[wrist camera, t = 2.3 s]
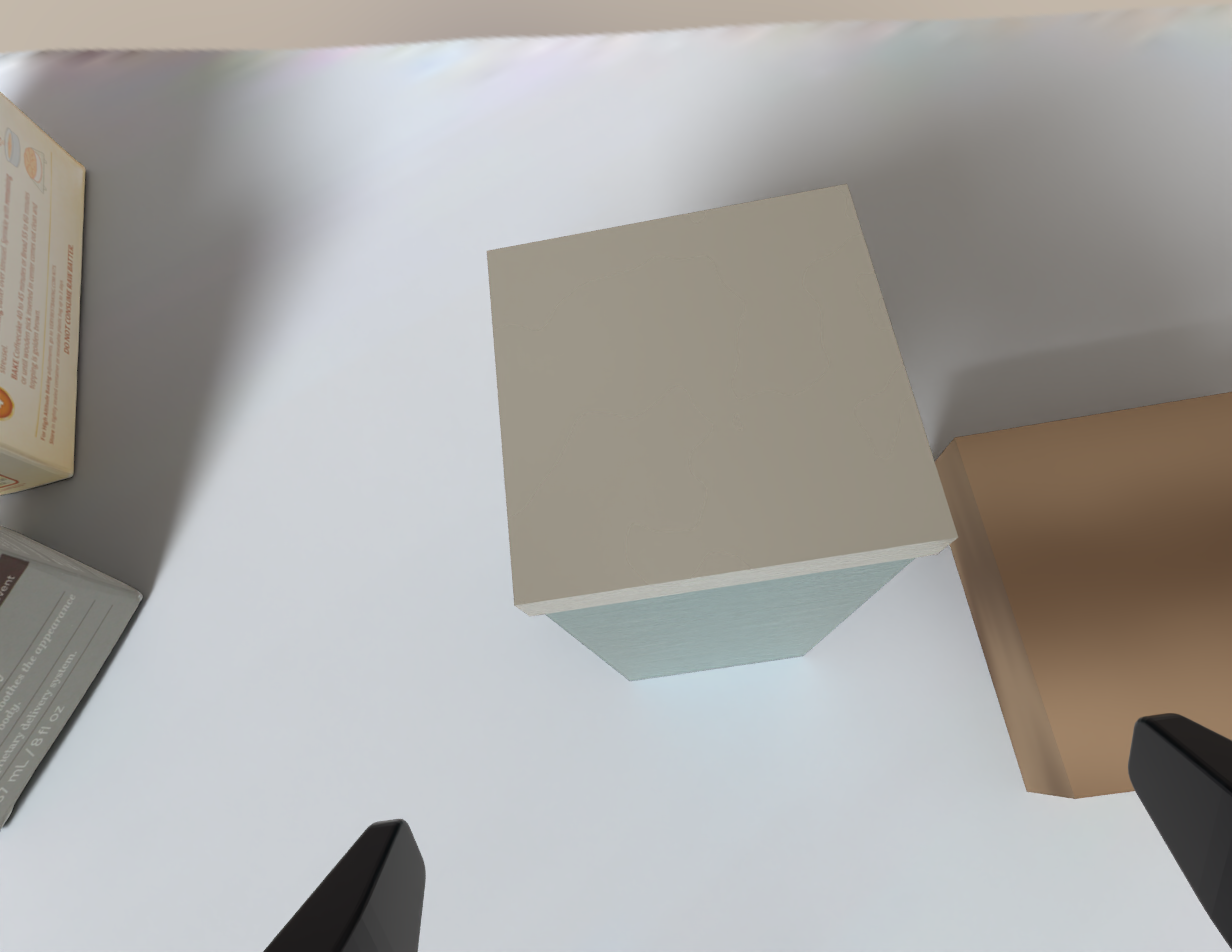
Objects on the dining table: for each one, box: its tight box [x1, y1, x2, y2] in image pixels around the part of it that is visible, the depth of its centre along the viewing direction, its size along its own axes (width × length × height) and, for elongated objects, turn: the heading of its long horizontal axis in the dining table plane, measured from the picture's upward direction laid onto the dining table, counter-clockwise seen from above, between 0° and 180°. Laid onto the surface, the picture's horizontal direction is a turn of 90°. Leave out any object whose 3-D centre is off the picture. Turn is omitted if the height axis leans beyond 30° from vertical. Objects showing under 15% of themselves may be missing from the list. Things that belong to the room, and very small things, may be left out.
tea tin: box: [487, 184, 958, 681], centre depth 15 cm, size 5×5×13 cm
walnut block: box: [935, 392, 1232, 799], centre depth 19 cm, size 9×9×3 cm
